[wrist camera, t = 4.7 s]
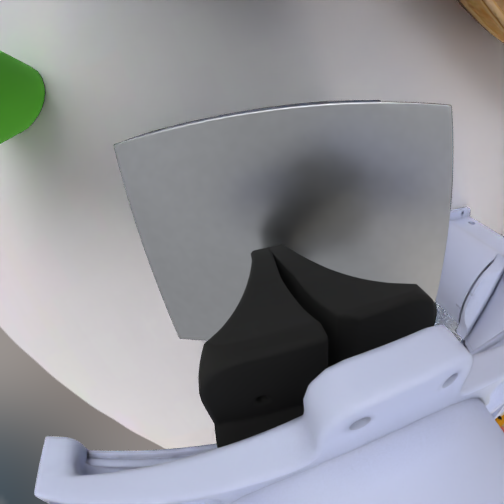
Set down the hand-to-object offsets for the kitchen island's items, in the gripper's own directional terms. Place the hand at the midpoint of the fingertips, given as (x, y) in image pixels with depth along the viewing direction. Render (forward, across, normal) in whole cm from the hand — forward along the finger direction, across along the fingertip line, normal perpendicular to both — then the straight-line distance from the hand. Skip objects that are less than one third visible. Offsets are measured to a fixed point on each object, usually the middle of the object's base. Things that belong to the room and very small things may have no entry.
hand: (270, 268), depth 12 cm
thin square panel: (+1, -1, 0) cm, 2 cm away
